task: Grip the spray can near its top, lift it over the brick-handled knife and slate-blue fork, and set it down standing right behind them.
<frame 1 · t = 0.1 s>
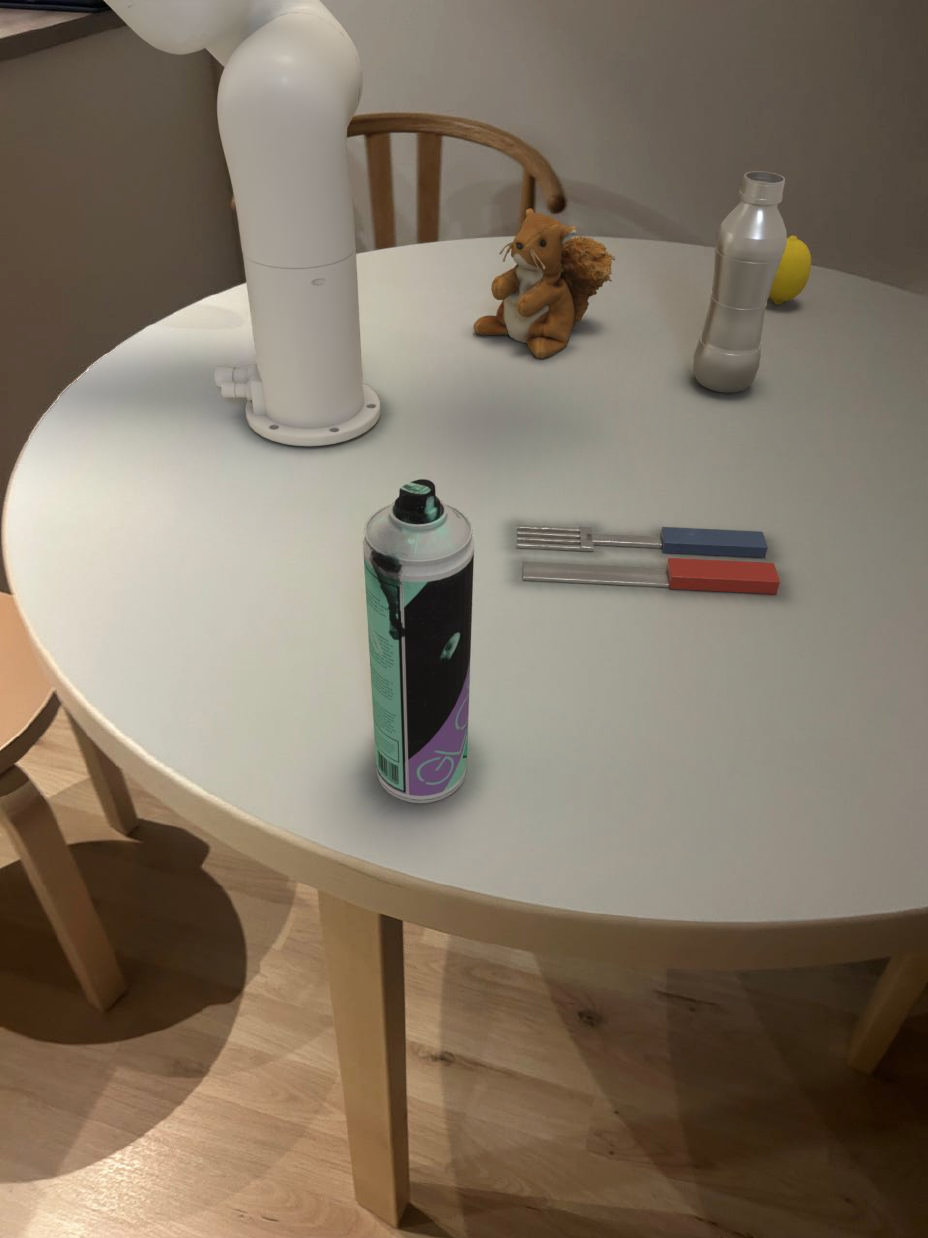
fork: (648, 544, 76), on the table
stuffed squirrel: (543, 334, 107), on the table
lemon: (776, 305, 114), on the table
plastic bottle: (720, 386, 98), on the table
spray can: (421, 770, 58), on the table
knife: (654, 578, 73), on the table
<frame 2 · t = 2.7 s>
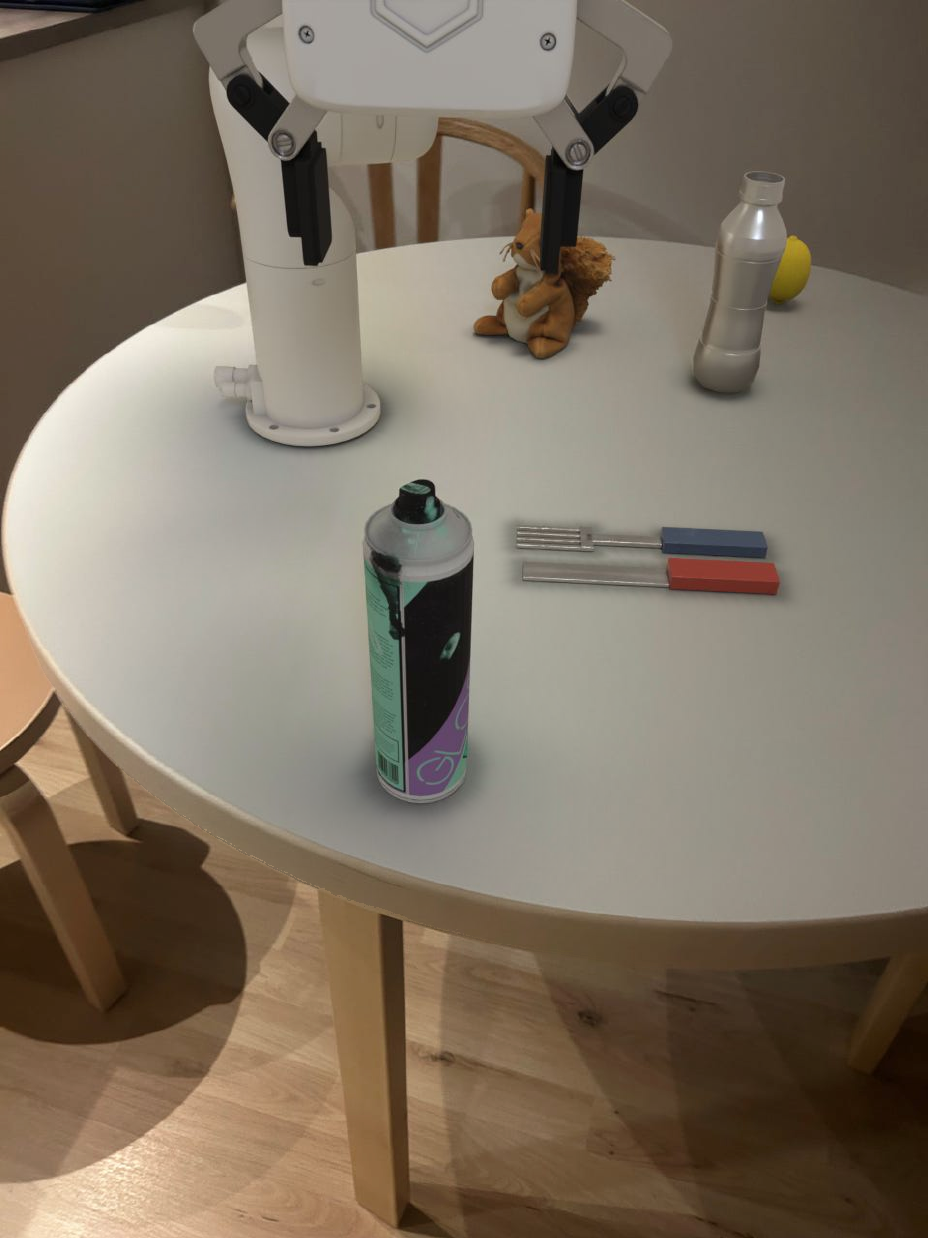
hand: (433, 258, 40), 30 cm above the table, tool pointing down, fingers open, 9 cm apart
nothing on the table moved.
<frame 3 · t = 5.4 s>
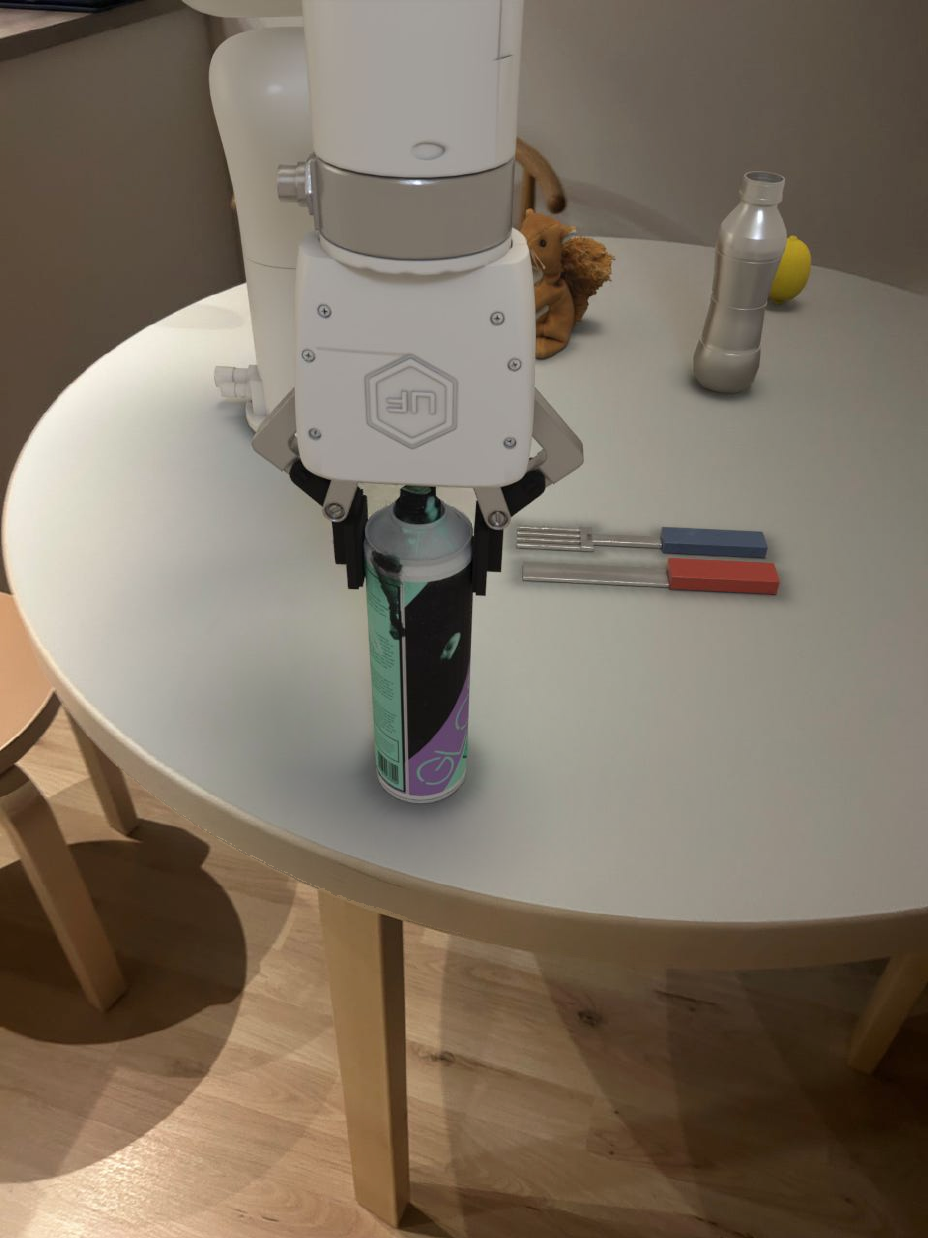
hand: (419, 572, 48), 15 cm above the table, tool pointing down, fingers closed on spray can, 5 cm apart
spray can: (421, 770, 58), on the table, touching gripper
everything else where it was.
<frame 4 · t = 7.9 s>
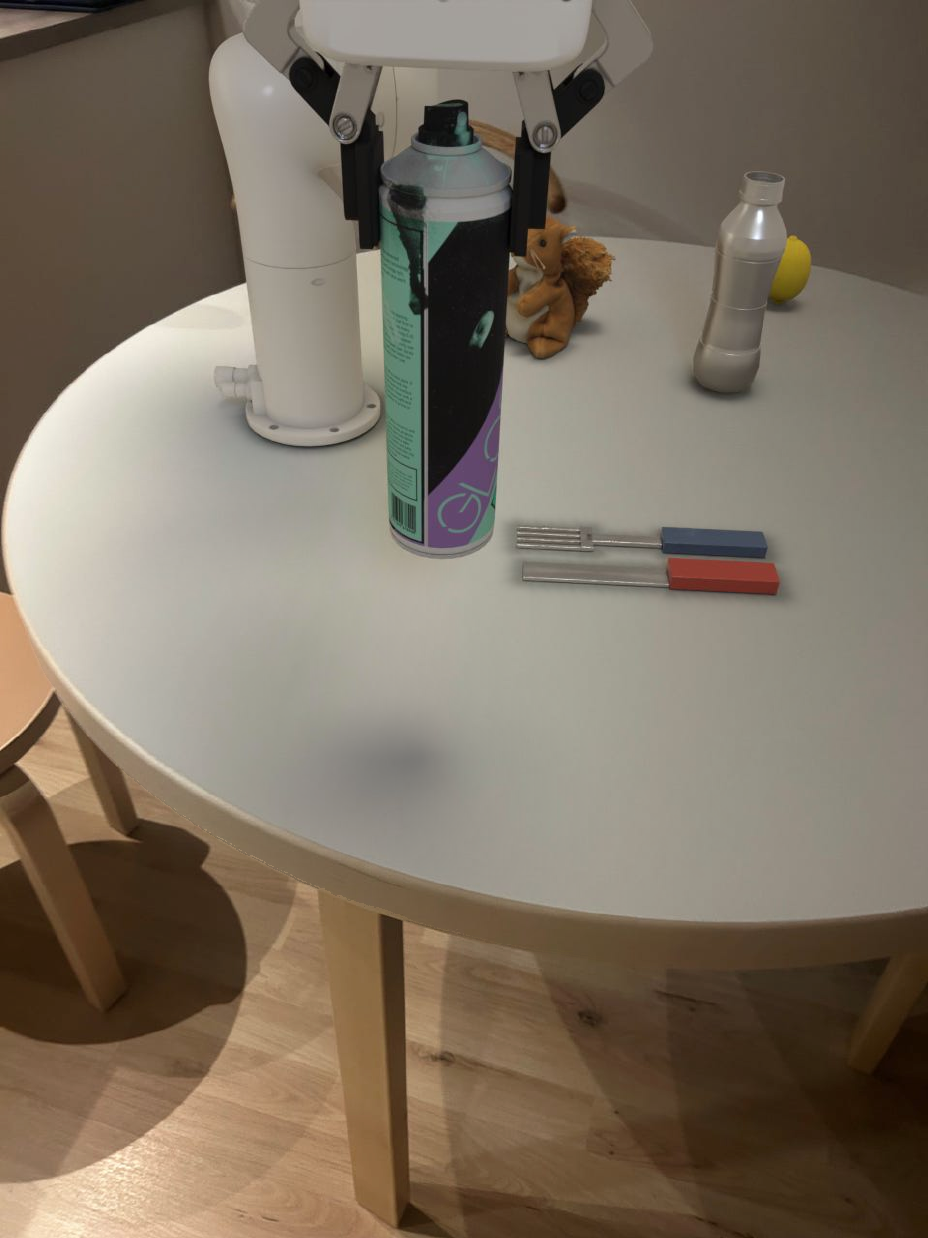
hand: (445, 236, 40), 31 cm above the table, tool pointing down, fingers closed on spray can, 5 cm apart
spray can: (441, 530, 50), point 16 cm above the table, touching gripper
everything else where it was.
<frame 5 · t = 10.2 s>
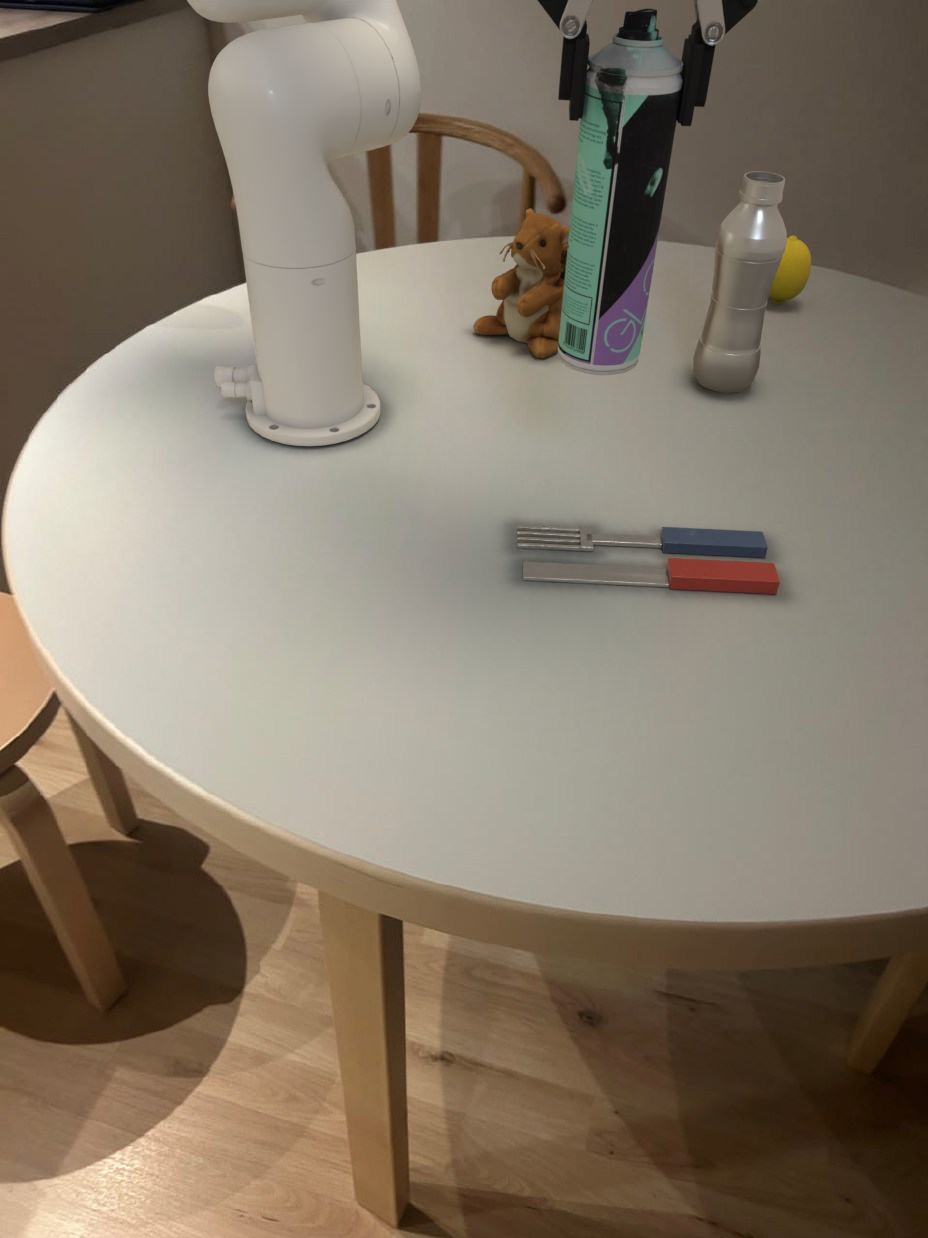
hand: (628, 113, 55), 31 cm above the table, tool pointing down, fingers closed on spray can, 5 cm apart
spray can: (597, 359, 65), point 16 cm above the table, touching gripper
everything else where it was.
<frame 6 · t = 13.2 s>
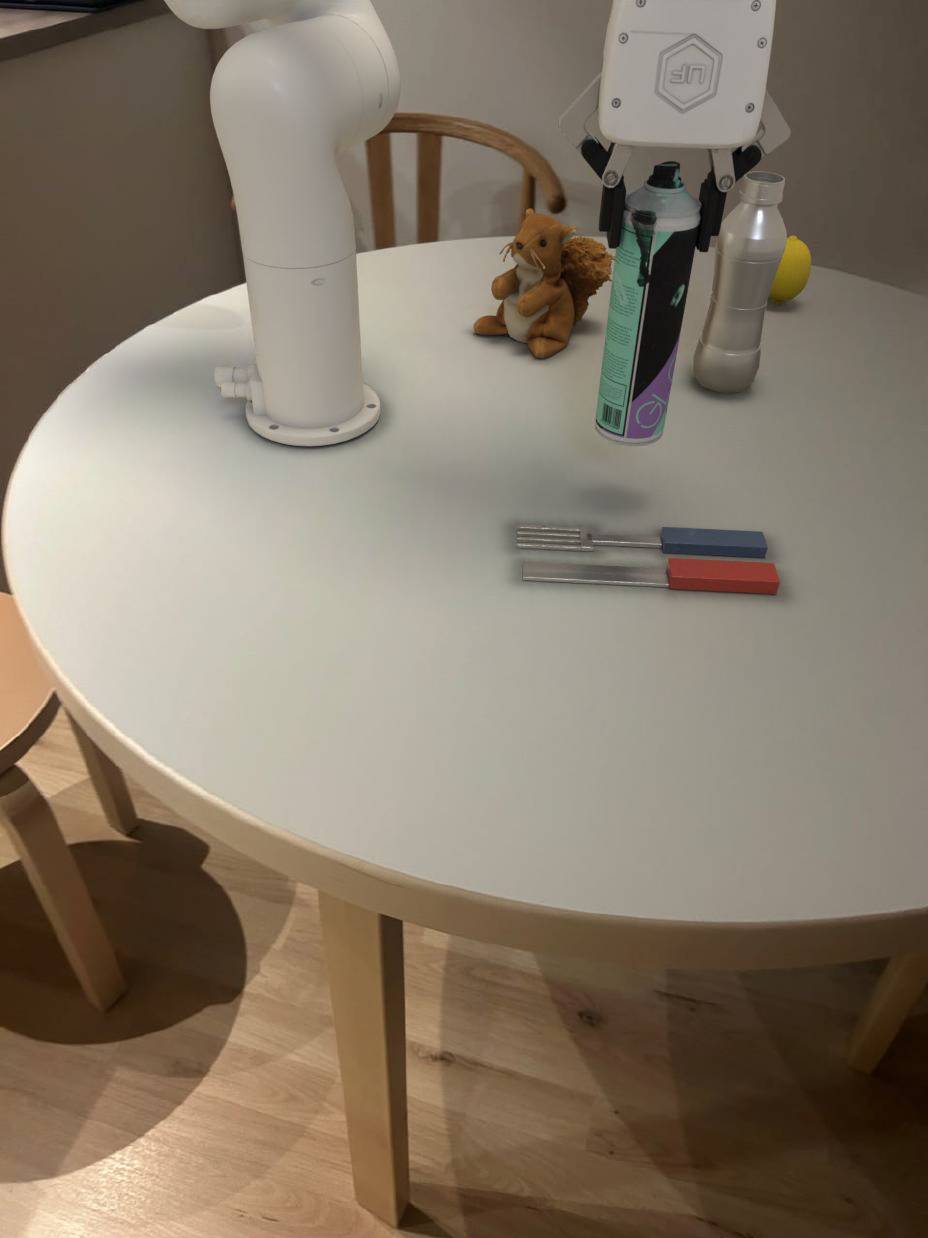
hand: (656, 241, 67), 21 cm above the table, tool pointing down, fingers closed on spray can, 5 cm apart
spray can: (628, 431, 77), point 6 cm above the table, touching gripper
everything else where it was.
when the fingers open (15 cm above the table, at t = 15.5 s): spray can stays where it is, on the table.
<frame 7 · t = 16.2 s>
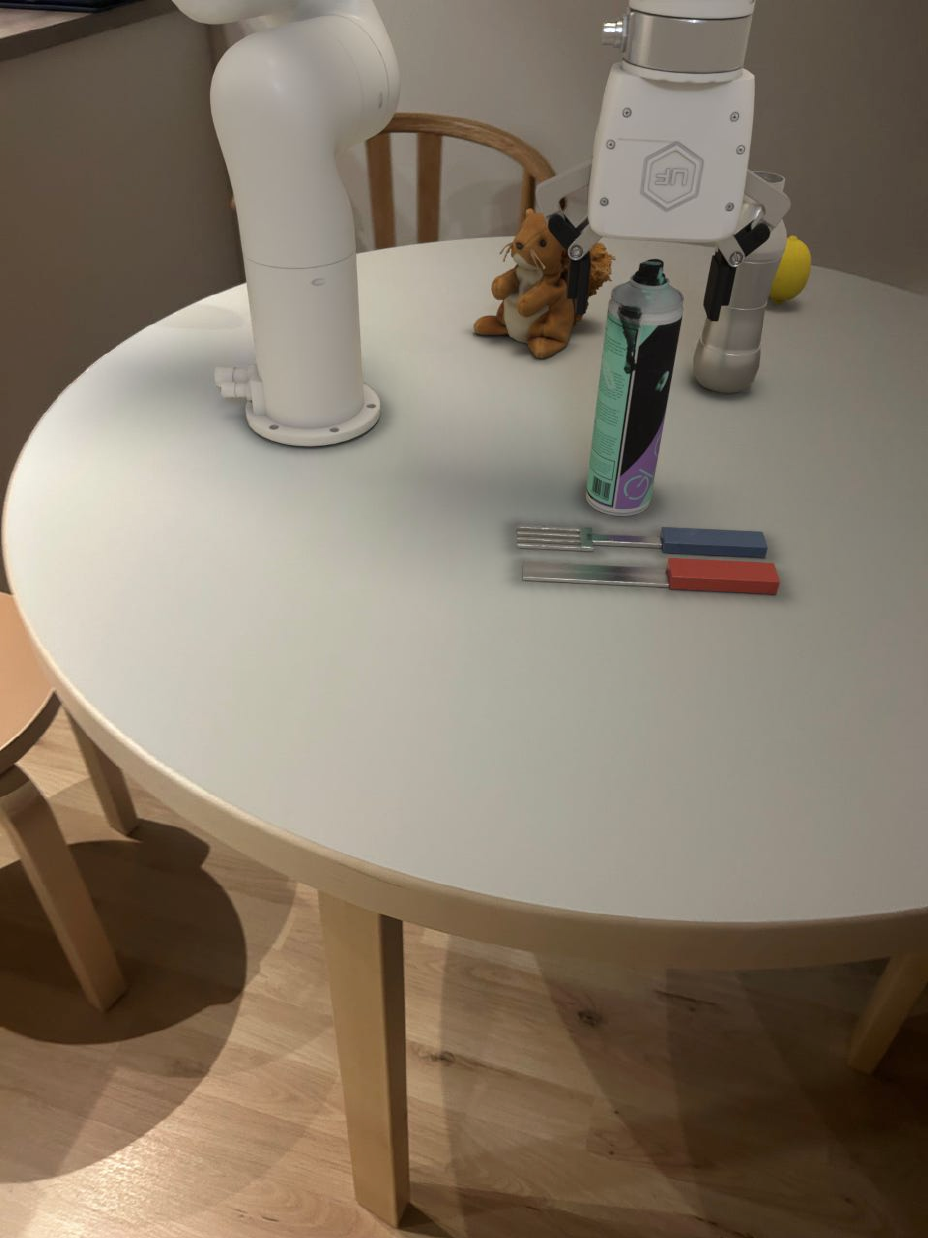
hand: (644, 310, 71), 16 cm above the table, tool pointing down, fingers open, 9 cm apart
spray can: (617, 500, 81), on the table
everything else where it was.
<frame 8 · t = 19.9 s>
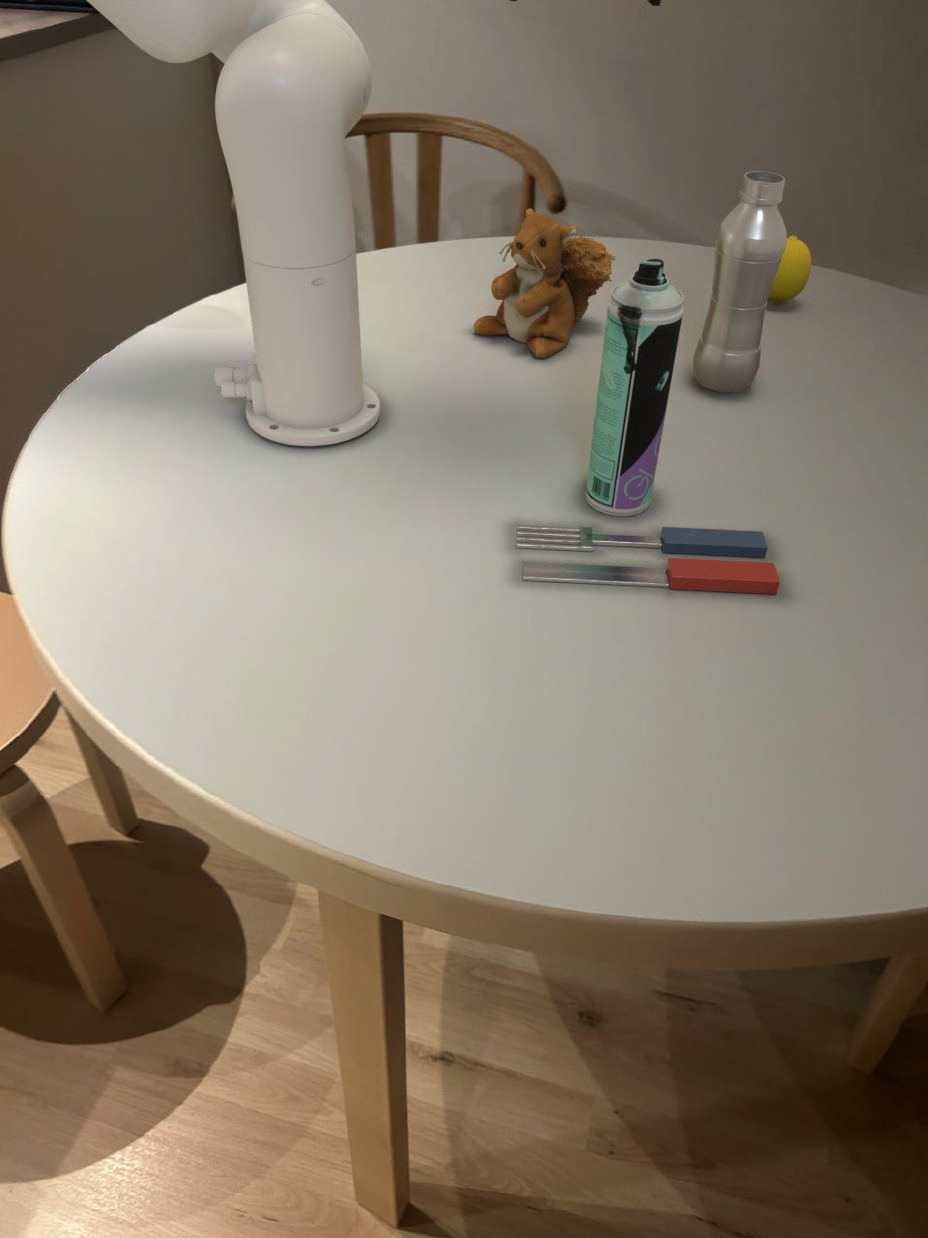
hand: (583, 0, 67), 34 cm above the table, tool pointing down, fingers open, 9 cm apart
nothing on the table moved.
at the end: spray can inside the target area on the table beside the knife (2.0 cm from its centre), on the table; spray can tilted 0°; the gripper is holding nothing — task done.
